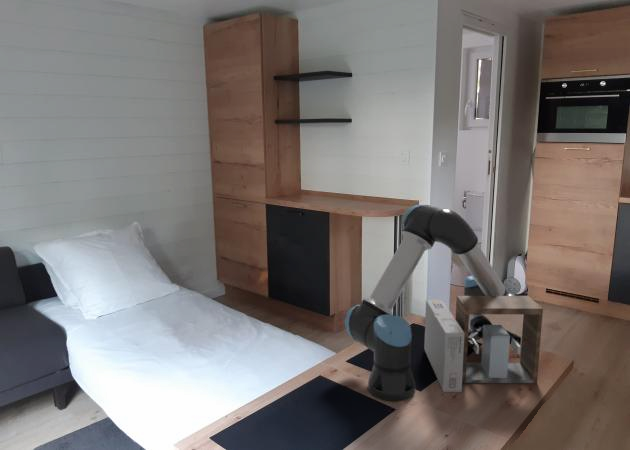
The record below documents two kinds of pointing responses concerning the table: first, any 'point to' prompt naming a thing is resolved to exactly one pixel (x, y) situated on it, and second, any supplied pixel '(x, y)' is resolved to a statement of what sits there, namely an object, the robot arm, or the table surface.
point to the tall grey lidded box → (495, 351)
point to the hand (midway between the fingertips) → (498, 350)
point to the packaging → (444, 345)
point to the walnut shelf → (530, 335)
